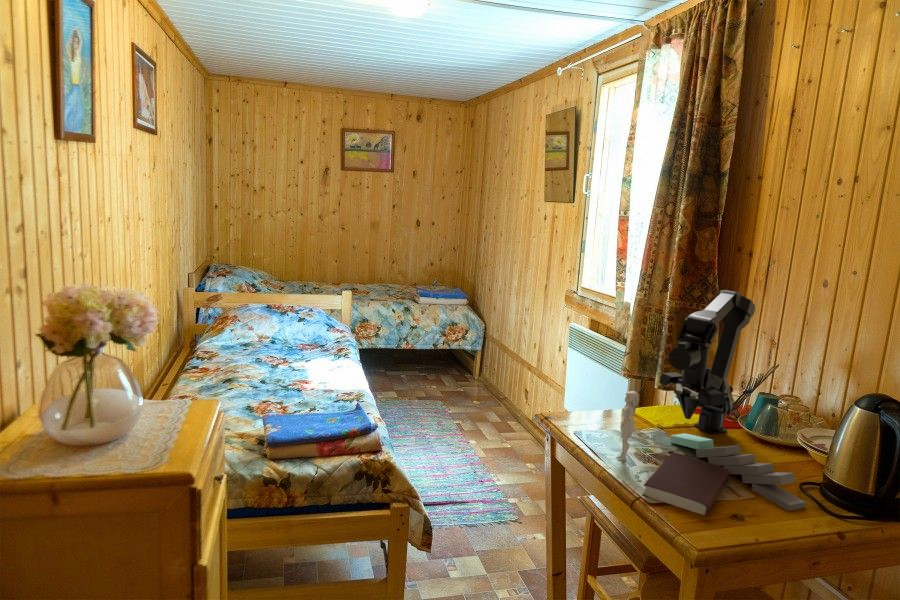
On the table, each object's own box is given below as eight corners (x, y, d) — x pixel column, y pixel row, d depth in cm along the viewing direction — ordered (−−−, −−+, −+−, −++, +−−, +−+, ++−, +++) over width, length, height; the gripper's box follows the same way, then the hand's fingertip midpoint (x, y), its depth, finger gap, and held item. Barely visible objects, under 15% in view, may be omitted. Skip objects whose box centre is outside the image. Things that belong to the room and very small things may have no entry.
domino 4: (755, 471, 150) (793, 472, 142) (756, 480, 150) (795, 481, 141) (741, 474, 148) (779, 475, 139) (742, 482, 148) (781, 484, 139)
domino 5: (768, 480, 147) (805, 501, 138) (766, 488, 147) (804, 510, 138) (752, 483, 145) (789, 505, 136) (751, 491, 145) (787, 513, 136)
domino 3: (737, 462, 155) (772, 463, 146) (739, 471, 154) (774, 472, 145) (723, 465, 153) (757, 466, 144) (724, 473, 152) (759, 475, 143)
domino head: (685, 433, 171) (713, 439, 162) (685, 440, 171) (713, 447, 162) (670, 435, 170) (698, 441, 160) (671, 442, 169) (698, 449, 160)
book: (728, 482, 149) (730, 468, 149) (706, 519, 132) (708, 503, 131) (669, 464, 157) (671, 451, 156) (641, 497, 140) (642, 482, 139)
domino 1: (710, 447, 163) (739, 445, 154) (711, 455, 163) (741, 453, 154) (695, 449, 161) (724, 447, 152) (697, 457, 161) (726, 455, 152)
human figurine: (612, 448, 163) (620, 383, 160) (627, 449, 163) (635, 384, 160) (620, 469, 152) (628, 399, 148) (636, 470, 151) (644, 400, 148)
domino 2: (722, 454, 159) (754, 454, 150) (724, 462, 159) (755, 462, 150) (707, 457, 157) (738, 456, 148) (709, 465, 157) (740, 465, 148)
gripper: (746, 371, 158) (737, 429, 161) (693, 351, 175) (686, 403, 178) (713, 374, 154) (704, 433, 157) (661, 353, 171) (655, 407, 174)
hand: (687, 418), depth 167 cm, fingers closed
